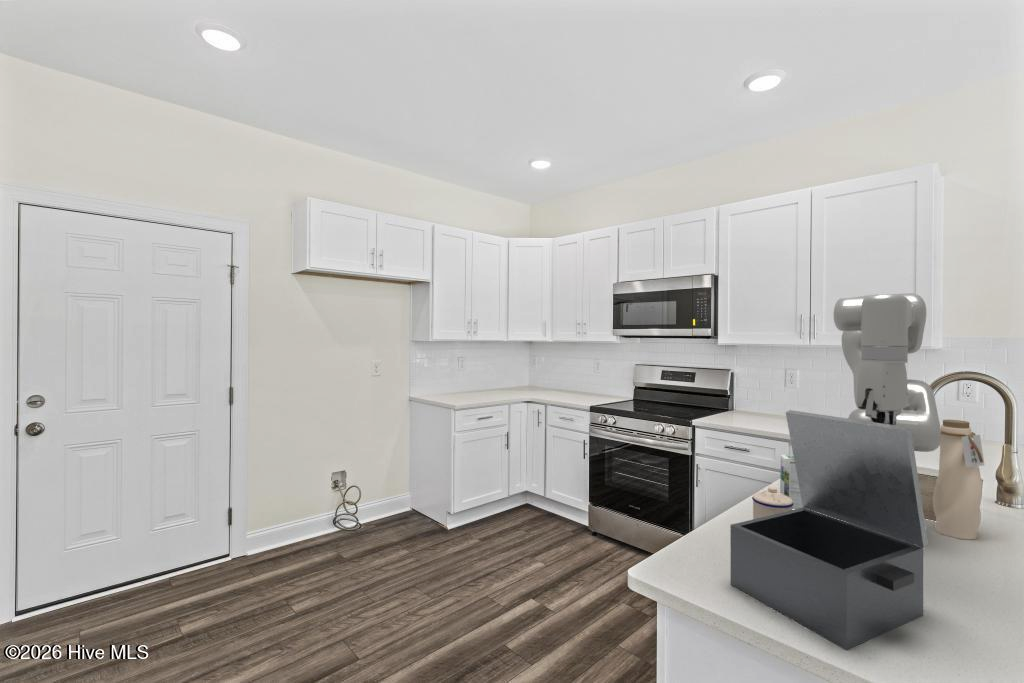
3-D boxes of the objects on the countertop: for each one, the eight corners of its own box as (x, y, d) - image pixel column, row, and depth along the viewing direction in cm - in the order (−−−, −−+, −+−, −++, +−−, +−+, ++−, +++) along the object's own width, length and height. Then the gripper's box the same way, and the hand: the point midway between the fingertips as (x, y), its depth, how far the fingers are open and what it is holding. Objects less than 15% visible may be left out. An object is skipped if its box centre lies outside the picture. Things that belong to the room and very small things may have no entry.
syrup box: (779, 502, 142) (779, 454, 141) (801, 504, 140) (801, 455, 140) (784, 509, 136) (784, 458, 136) (808, 511, 134) (808, 460, 134)
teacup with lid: (779, 545, 113) (779, 496, 113) (744, 531, 121) (744, 485, 121) (808, 534, 119) (808, 487, 119) (772, 522, 127) (772, 478, 127)
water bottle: (997, 540, 115) (997, 424, 115) (971, 545, 112) (972, 426, 112) (947, 524, 125) (948, 417, 125) (923, 528, 122) (923, 419, 122)
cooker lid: (802, 507, 104) (815, 499, 106) (923, 547, 84) (936, 536, 86) (785, 412, 102) (799, 405, 104) (905, 430, 82) (919, 421, 84)
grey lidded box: (792, 557, 107) (792, 504, 107) (939, 622, 82) (940, 553, 82) (720, 579, 98) (720, 520, 97) (863, 659, 73) (863, 581, 73)
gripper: (884, 354, 104) (884, 438, 104) (842, 355, 98) (842, 444, 98) (925, 355, 98) (925, 444, 98) (883, 356, 91) (883, 452, 91)
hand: (883, 444), depth 98 cm, fingers closed
